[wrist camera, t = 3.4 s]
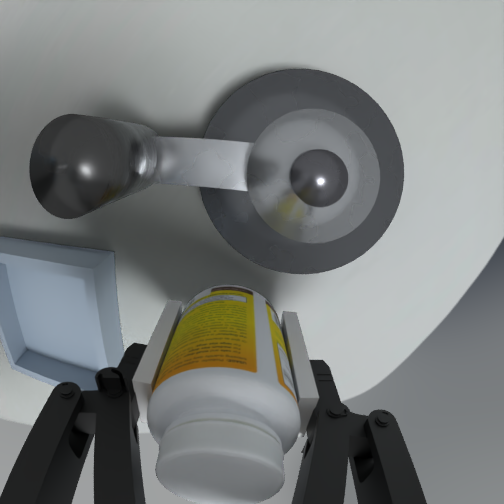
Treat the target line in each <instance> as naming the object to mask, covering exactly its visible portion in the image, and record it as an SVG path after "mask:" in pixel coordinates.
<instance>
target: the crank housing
mask: <svg viewBox="0 0 504 504" xmlns="http://www.w3.org/2000/svg"><path fill="white" fill-rule="evenodd" d="M302 109H324V110H328V111H332V112H335V113H338V114H340V115H342V116H344V117H346V118H348V119H349V120H351V121H352V122H353V123H355V124H356V125H357V126H358V127H359V128H360V129H361V130H362V131H363V132H364V133H365V135H366V136H367V137H368V138H369V140H370V142H371V144H372V145H373V147H374V150H375V152H376V155H377V158H378V162H379V168H380V185H379V191H378V195H377V198H376V201H375V204H374V206H373V207H372V209H371V211H370V213H369V214H368V216H367V217H366V218H365V220H364V221H363V222H362V223H361V224H360V225H359V226H358V227H357V228H355V229H354V230H353V231H351V232H350V233H348V234H347V235H345V236H343V237H341V238H339V239H336V240H333V241H329V242H324V243H304V242H299V241H295V240H292V239H289V238H287V237H285V236H283V235H281V234H279V233H278V232H276V231H275V230H274V229H272V228H271V227H270V226H269V225H268V224H267V223H266V222H265V221H264V220H263V219H262V218H261V216H260V215H259V214H258V212H257V211H256V209H255V207H254V205H253V203H252V200H251V198H250V195H249V191H242V190H232V189H222V188H211V187H200V191H201V195H202V199H203V203H204V205H205V208H206V210H207V213H208V215H209V217H210V219H211V220H212V222H213V224H214V226H215V227H216V229H217V230H218V231H219V233H220V234H221V235H222V237H223V238H224V239H225V240H226V241H227V242H228V243H229V244H230V245H231V246H232V247H233V248H234V249H235V250H237V251H238V252H239V253H240V254H242V255H243V256H245V257H246V258H248V259H250V260H251V261H253V262H254V263H257V264H259V265H261V266H264V267H266V268H269V269H272V270H275V271H279V272H285V273H291V274H313V273H320V272H325V271H330V270H333V269H336V268H338V267H341V266H344V265H346V264H348V263H350V262H352V261H354V260H355V259H357V258H358V257H360V256H361V255H363V254H364V253H365V252H366V251H368V250H369V249H370V248H371V247H372V246H373V245H374V244H375V243H376V242H377V241H378V240H379V239H380V238H381V237H382V235H383V234H384V232H385V231H386V230H387V228H388V227H389V225H390V223H391V221H392V219H393V218H394V216H395V213H396V211H397V208H398V206H399V203H400V199H401V195H402V191H403V182H404V163H403V156H402V150H401V147H400V143H399V139H398V137H397V134H396V132H395V130H394V127H393V125H392V124H391V122H390V120H389V119H388V117H387V115H386V114H385V112H384V111H383V110H382V109H381V107H380V106H379V105H378V104H377V103H376V102H375V101H374V100H373V99H372V98H371V97H370V96H369V95H368V94H367V93H366V92H364V91H363V90H362V89H361V88H359V87H358V86H356V85H355V84H353V83H351V82H349V81H348V80H346V79H343V78H341V77H339V76H336V75H334V74H330V73H327V72H323V71H319V70H311V69H288V70H282V71H276V72H273V73H270V74H266V75H263V76H261V77H259V78H257V79H254V80H252V81H250V82H249V83H247V84H246V85H244V86H243V87H241V88H239V89H238V90H237V91H236V92H235V93H233V94H232V95H231V96H230V97H229V98H228V99H227V100H226V101H225V102H224V103H223V105H222V106H221V107H220V108H219V109H218V111H217V112H216V114H215V115H214V117H213V118H212V120H211V122H210V124H209V126H208V128H207V130H206V132H205V135H204V138H203V139H215V140H228V141H238V142H248V143H255V142H256V140H257V139H258V137H259V136H260V134H261V133H262V132H263V131H264V130H265V128H266V127H267V126H269V125H270V124H271V123H272V122H273V121H275V120H276V119H278V118H280V117H281V116H283V115H285V114H288V113H290V112H293V111H297V110H302Z"/></svg>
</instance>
